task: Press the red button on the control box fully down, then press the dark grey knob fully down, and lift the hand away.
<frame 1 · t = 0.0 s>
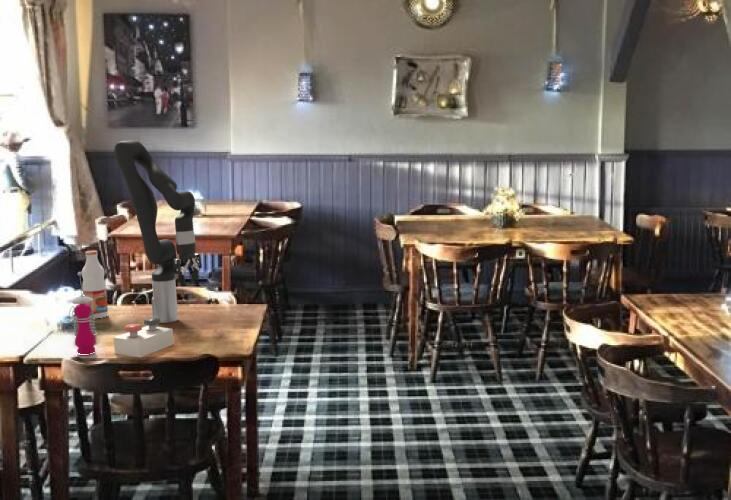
hand: (189, 281, 377), 17 cm above the table, tool pointing down, fingers open, 8 cm apart
control box: (144, 349, 345), on the table
red button: (133, 333, 340), point 7 cm above the table, slide at 0.0 cm
fruit juice: (96, 317, 396), on the table
french press: (83, 335, 367), on the table
pepper mill: (86, 353, 342), on the table
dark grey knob: (152, 326, 348), point 7 cm above the table, slide at 0.0 cm
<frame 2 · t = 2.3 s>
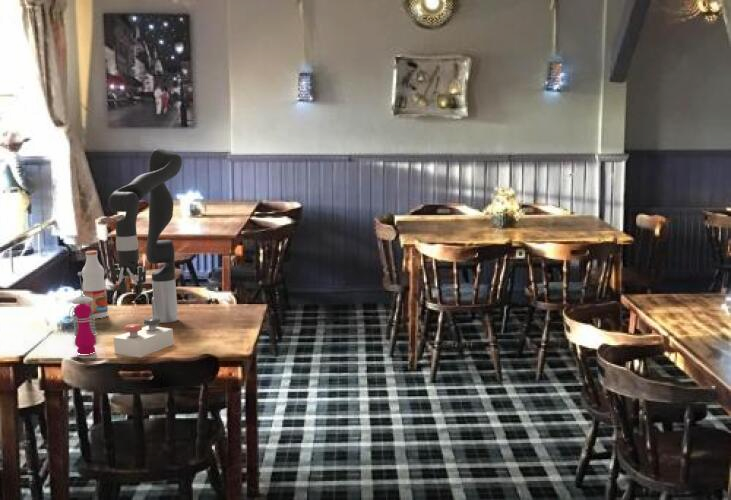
hand: (130, 293, 337), 22 cm above the table, tool pointing down, fingers open, 6 cm apart
nothing on the table moved.
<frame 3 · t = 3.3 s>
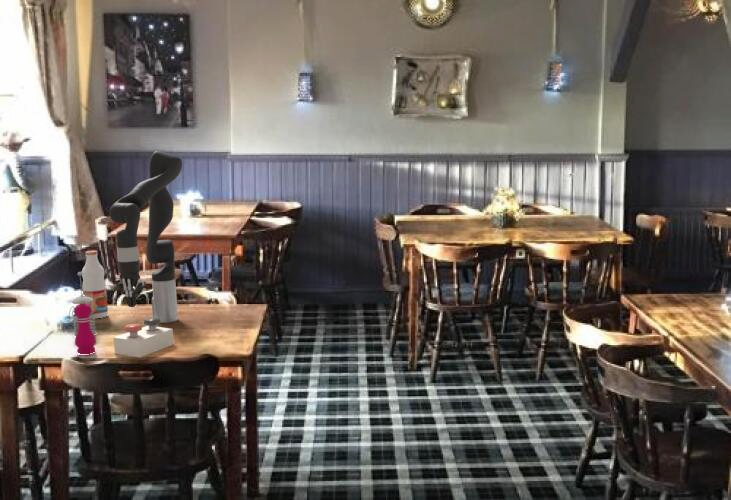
hand: (132, 306, 338), 17 cm above the table, tool pointing down, fingers closed
nothing on the table moved.
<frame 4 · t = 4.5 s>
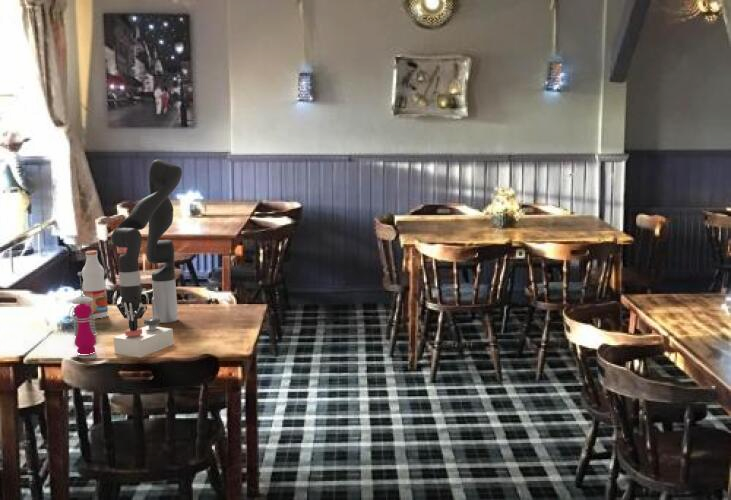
hand: (133, 330, 340), 8 cm above the table, tool pointing down, fingers closed
red button: (133, 337, 340), point 6 cm above the table, slide at 1.6 cm, touching gripper
everything else where it was.
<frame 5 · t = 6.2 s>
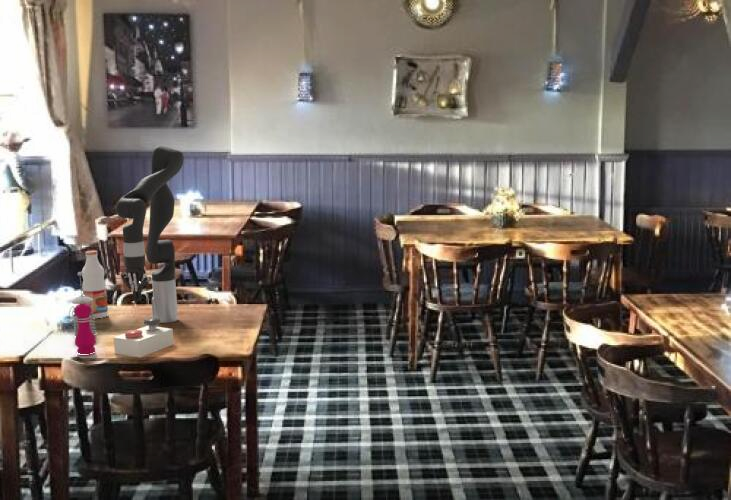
hand: (137, 300, 342), 18 cm above the table, tool pointing down, fingers closed
red button: (134, 339, 340), point 5 cm above the table, slide at 2.2 cm
everything else where it was.
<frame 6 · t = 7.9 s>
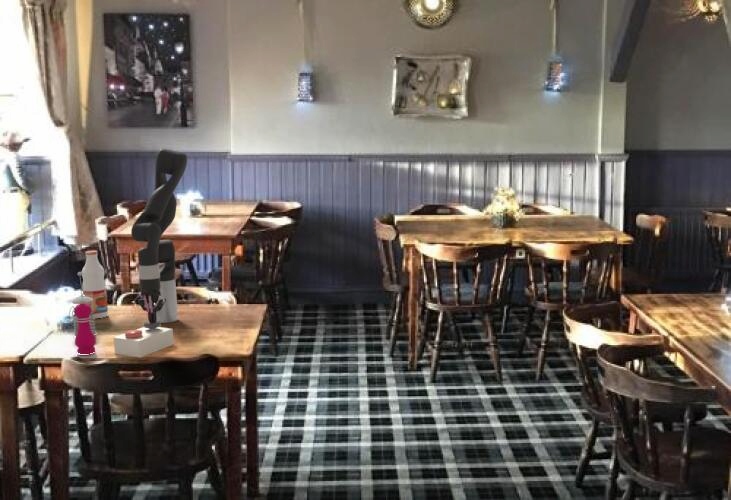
hand: (152, 322, 348), 9 cm above the table, tool pointing down, fingers closed
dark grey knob: (152, 329, 349), point 6 cm above the table, slide at 1.1 cm, touching gripper
everything else where it was.
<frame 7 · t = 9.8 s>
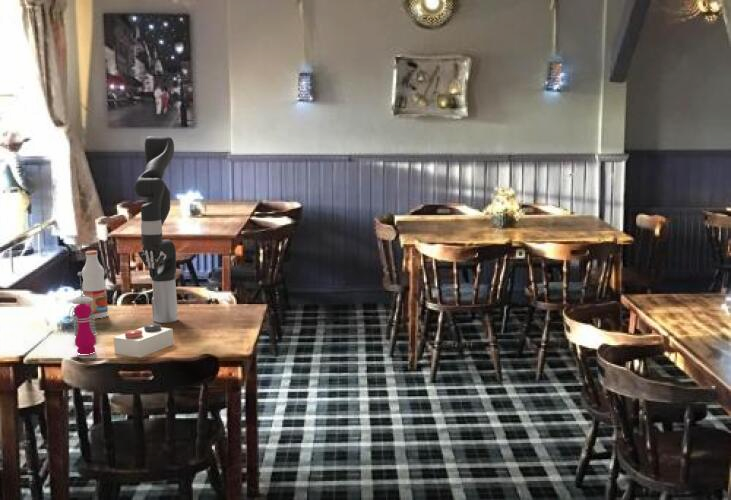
hand: (153, 277, 351), 24 cm above the table, tool pointing down, fingers closed
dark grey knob: (153, 332, 349), point 5 cm above the table, slide at 2.3 cm
everything else where it was.
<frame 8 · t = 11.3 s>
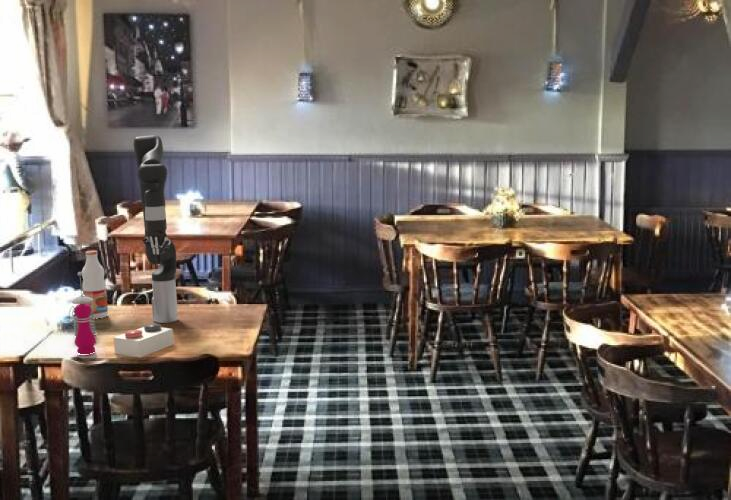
hand: (158, 263, 354), 29 cm above the table, tool pointing down, fingers closed
nothing on the table moved.
at the end: red button slide at 2.2 cm; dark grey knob slide at 2.3 cm; pepper mill moved 0.2 cm from its start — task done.
